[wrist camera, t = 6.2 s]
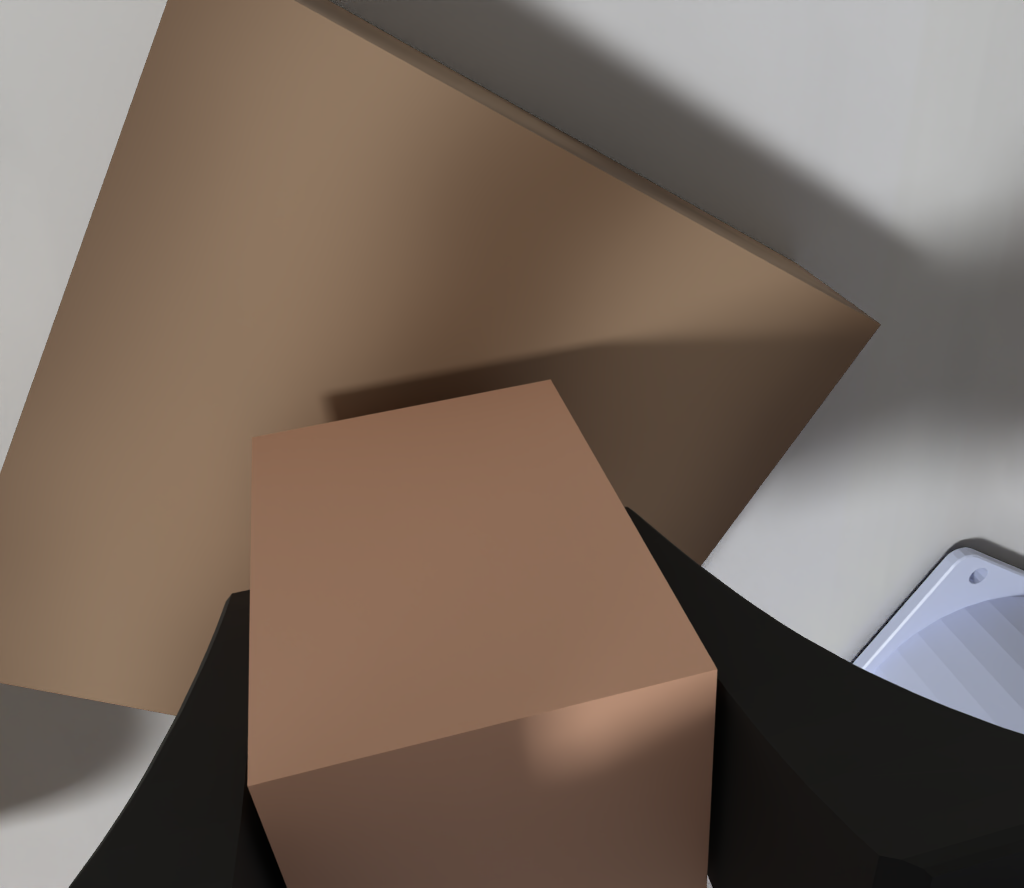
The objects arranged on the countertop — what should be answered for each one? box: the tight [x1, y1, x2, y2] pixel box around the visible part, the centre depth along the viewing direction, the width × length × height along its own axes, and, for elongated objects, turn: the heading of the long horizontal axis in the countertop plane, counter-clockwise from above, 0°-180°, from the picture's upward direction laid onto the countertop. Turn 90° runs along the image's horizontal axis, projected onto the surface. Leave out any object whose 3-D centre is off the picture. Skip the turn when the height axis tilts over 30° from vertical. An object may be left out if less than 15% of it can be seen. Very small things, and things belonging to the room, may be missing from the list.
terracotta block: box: [247, 379, 717, 888], centre depth 12 cm, size 4×4×6 cm
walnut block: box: [0, 0, 881, 716], centre depth 17 cm, size 12×12×3 cm
